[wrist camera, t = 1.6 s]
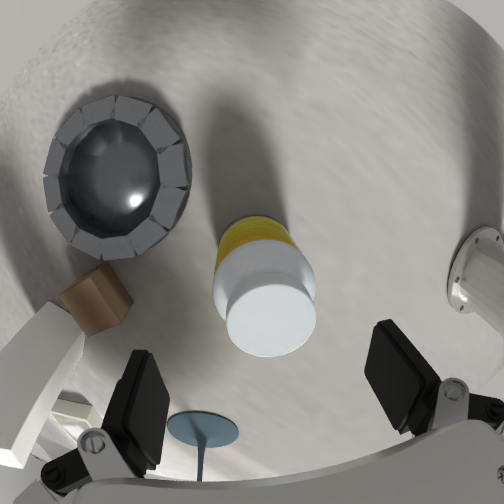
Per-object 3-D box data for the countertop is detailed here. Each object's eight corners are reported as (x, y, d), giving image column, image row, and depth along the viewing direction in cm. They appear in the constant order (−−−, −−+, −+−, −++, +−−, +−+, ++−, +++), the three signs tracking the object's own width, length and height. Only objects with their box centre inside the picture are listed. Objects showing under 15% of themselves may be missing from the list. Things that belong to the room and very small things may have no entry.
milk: (47, 332, 27) (-34, 452, 6) (49, 299, 25) (-57, 427, 4) (83, 355, 28) (14, 492, 7) (88, 323, 26) (-3, 478, 5)
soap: (114, 441, 34) (111, 453, 32) (96, 441, 35) (92, 452, 32) (80, 411, 31) (75, 424, 29) (63, 412, 32) (58, 424, 29)
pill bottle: (207, 228, 23) (184, 292, 12) (277, 201, 23) (315, 243, 12) (235, 290, 26) (237, 381, 15) (300, 266, 25) (342, 345, 14)
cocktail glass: (148, 381, 29) (106, 562, 6) (281, 408, 32) (311, 574, 9) (142, 440, 35) (120, 560, 11) (242, 460, 38) (249, 576, 14)
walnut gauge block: (107, 260, 24) (90, 277, 20) (134, 301, 26) (121, 323, 22) (77, 278, 24) (58, 296, 21) (102, 316, 26) (87, 336, 22)
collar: (185, 82, 19) (180, 76, 17) (202, 246, 24) (199, 254, 22) (49, 123, 18) (36, 122, 16) (69, 260, 23) (59, 268, 21)
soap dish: (92, 405, 31) (86, 419, 28) (124, 447, 36) (121, 459, 33) (52, 397, 31) (46, 409, 28) (86, 439, 36) (82, 450, 33)
